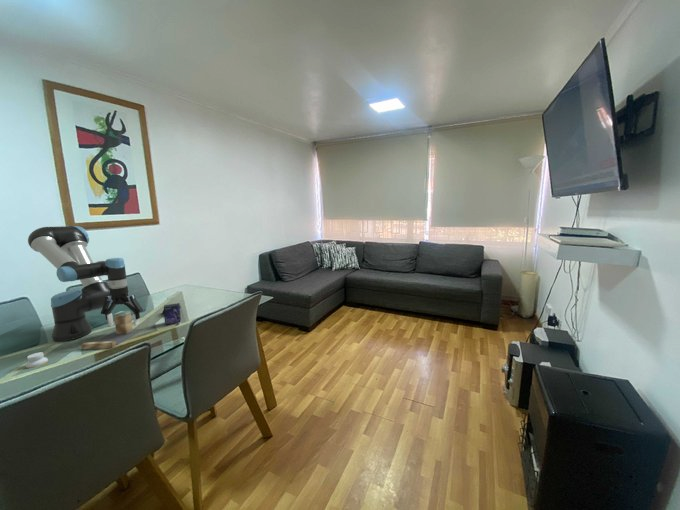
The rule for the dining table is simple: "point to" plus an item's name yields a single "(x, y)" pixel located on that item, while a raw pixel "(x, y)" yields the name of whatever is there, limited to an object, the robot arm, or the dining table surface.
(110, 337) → the mat
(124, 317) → the block
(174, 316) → the box
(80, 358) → the dining table surface
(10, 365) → the dining table surface
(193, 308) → the dining table surface
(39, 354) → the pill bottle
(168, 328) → the dining table surface
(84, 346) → the strip
